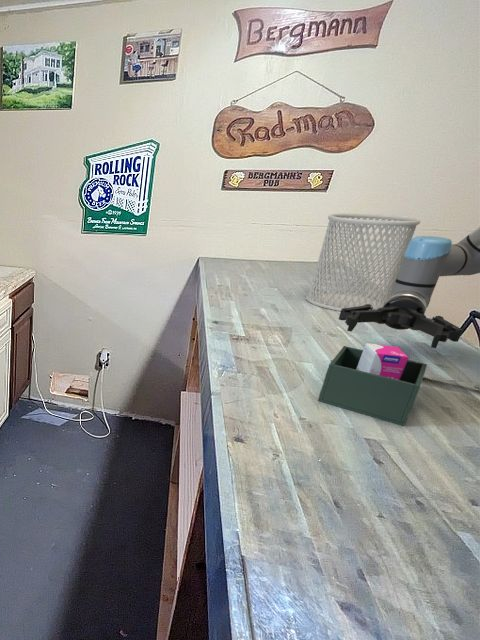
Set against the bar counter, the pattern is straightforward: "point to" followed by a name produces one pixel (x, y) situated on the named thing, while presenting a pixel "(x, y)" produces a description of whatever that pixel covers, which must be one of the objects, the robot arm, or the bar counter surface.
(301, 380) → the bar counter surface
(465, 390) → the bar counter surface
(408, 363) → the bin
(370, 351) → the supplement box
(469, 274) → the robot arm
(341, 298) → the wastebasket
